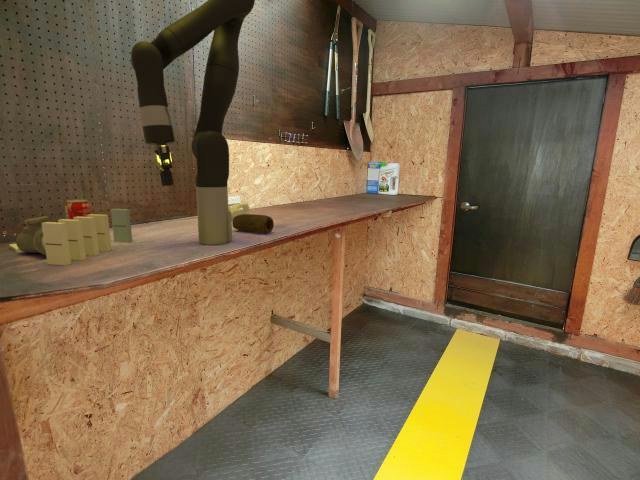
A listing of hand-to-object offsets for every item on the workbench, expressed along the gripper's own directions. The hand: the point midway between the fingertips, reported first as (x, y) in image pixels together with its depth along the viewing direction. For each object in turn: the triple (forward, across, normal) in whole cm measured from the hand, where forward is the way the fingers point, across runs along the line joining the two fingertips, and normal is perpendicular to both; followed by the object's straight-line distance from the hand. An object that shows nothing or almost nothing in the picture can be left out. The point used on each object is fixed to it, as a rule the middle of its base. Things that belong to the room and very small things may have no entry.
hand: (167, 185), depth 100 cm
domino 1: (+16, -5, +28) cm, 32 cm away
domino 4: (+16, +6, +19) cm, 26 cm away
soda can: (+14, +26, +26) cm, 39 cm away
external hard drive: (+14, +18, +35) cm, 42 cm away
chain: (+18, +43, -25) cm, 53 cm away
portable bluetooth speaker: (+20, +15, -27) cm, 37 cm away
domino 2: (+16, -2, +25) cm, 30 cm away
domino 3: (+16, +2, +22) cm, 27 cm away
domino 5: (+16, +16, +14) cm, 26 cm away
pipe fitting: (+15, +8, +33) cm, 37 cm away
